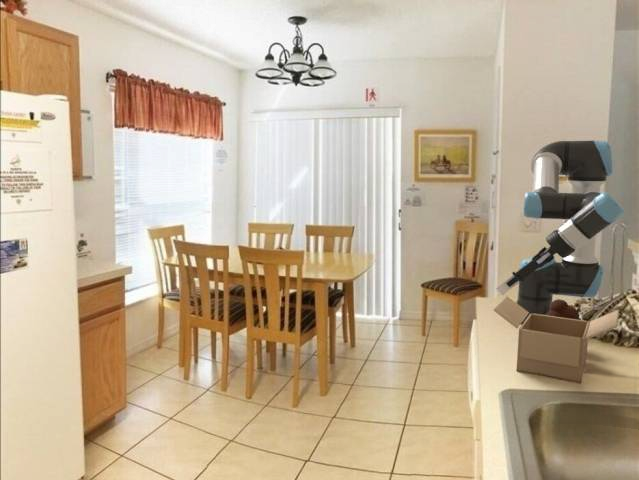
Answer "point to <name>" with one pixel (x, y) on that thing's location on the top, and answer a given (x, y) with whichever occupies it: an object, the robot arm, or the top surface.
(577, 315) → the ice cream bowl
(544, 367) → the carton
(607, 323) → the carton flap
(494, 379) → the top surface
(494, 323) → the top surface
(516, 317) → the carton flap
